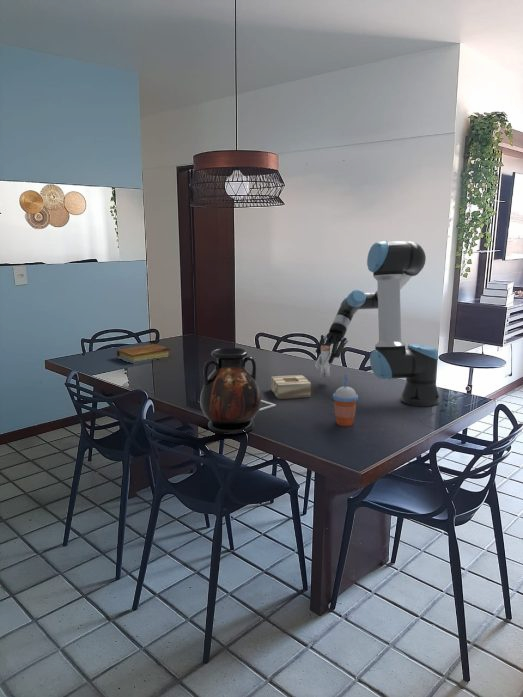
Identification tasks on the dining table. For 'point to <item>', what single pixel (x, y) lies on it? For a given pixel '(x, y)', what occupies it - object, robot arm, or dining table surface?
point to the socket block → (290, 386)
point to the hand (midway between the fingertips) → (320, 367)
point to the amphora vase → (230, 392)
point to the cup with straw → (345, 405)
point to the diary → (143, 352)
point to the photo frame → (267, 406)
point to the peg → (324, 355)
